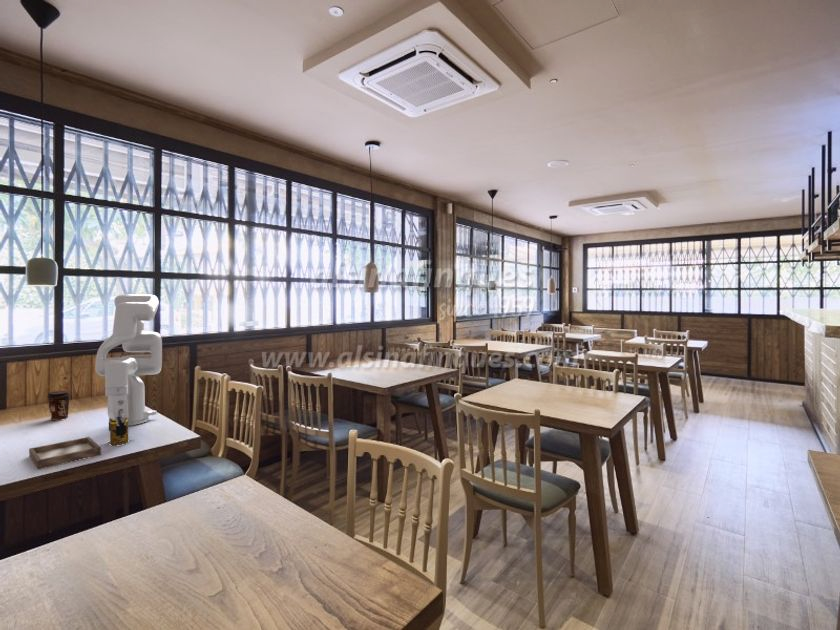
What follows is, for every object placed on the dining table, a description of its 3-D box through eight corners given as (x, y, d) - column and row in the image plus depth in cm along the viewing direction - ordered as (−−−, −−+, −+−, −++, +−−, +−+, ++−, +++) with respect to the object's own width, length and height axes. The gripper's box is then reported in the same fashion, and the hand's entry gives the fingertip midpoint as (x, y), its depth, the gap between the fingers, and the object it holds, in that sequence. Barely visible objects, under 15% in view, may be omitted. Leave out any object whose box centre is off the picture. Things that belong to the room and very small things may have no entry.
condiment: (120, 446, 171) (120, 417, 170) (100, 445, 171) (100, 416, 171) (134, 440, 178) (133, 412, 177) (114, 439, 179) (114, 411, 178)
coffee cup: (43, 420, 202) (42, 393, 202) (62, 415, 210) (62, 389, 209) (55, 422, 199) (54, 394, 199) (74, 417, 207) (74, 391, 206)
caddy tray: (89, 444, 173) (89, 436, 173) (101, 455, 162) (100, 447, 162) (29, 456, 159) (29, 448, 159) (37, 469, 148) (37, 460, 148)
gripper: (134, 392, 171) (135, 435, 171) (121, 386, 182) (121, 426, 182) (111, 395, 165) (112, 439, 166) (99, 389, 176) (100, 430, 177)
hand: (117, 432), depth 174 cm, fingers open, 9 cm apart
